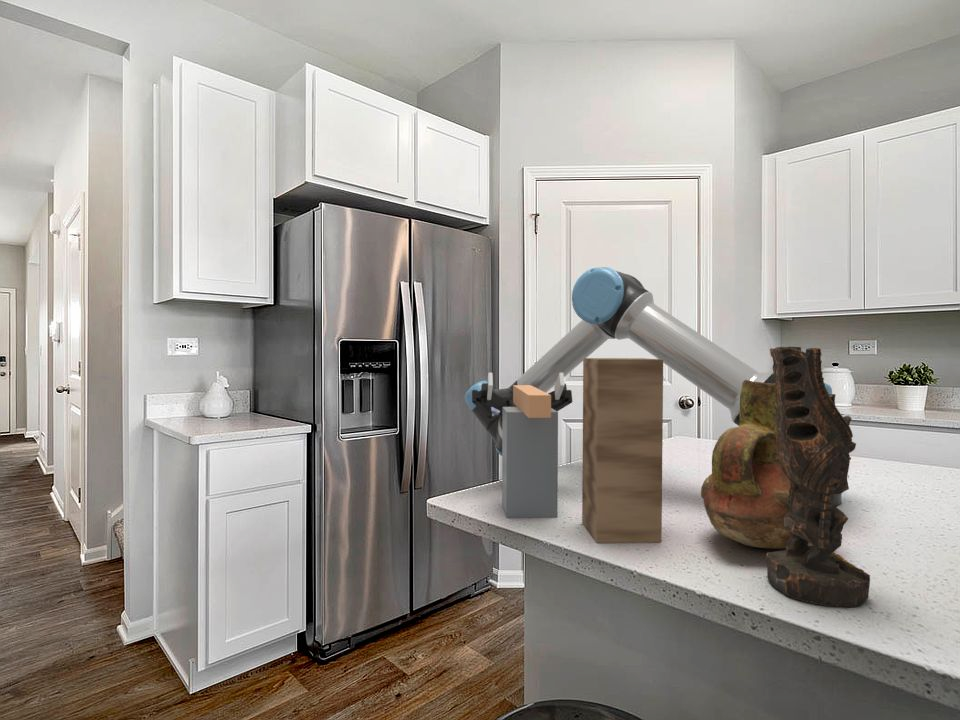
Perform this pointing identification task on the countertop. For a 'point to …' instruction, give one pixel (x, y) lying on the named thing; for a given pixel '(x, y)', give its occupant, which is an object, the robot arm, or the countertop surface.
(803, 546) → the statue
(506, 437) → the slate pedestal
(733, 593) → the countertop surface
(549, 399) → the bar
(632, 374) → the walnut stand
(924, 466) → the countertop surface
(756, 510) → the ceramic vessel
